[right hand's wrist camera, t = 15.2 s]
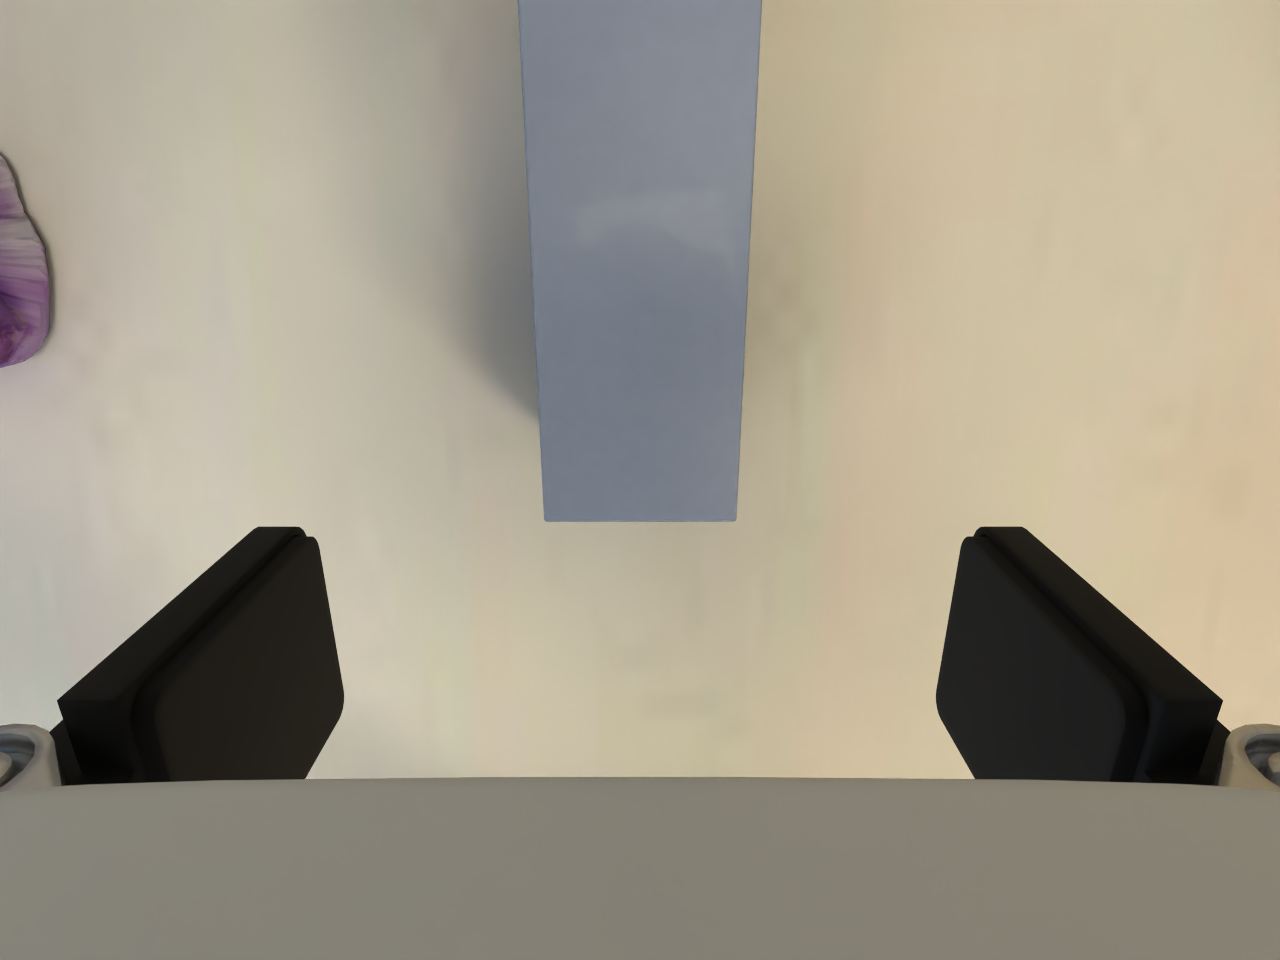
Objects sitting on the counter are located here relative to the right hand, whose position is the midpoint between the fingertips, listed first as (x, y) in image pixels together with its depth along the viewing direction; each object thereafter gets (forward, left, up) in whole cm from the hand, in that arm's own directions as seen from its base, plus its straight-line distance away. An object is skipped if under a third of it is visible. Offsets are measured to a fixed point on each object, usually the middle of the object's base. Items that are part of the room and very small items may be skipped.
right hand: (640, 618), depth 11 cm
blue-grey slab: (+1, -3, -22) cm, 23 cm away
